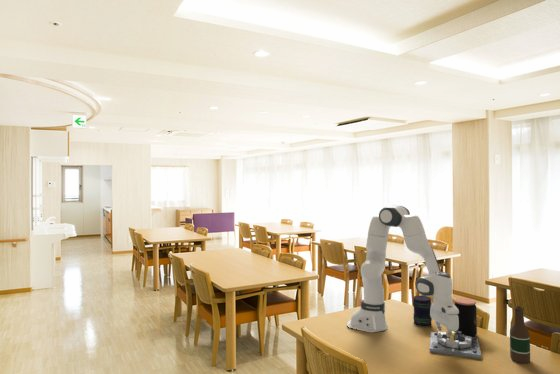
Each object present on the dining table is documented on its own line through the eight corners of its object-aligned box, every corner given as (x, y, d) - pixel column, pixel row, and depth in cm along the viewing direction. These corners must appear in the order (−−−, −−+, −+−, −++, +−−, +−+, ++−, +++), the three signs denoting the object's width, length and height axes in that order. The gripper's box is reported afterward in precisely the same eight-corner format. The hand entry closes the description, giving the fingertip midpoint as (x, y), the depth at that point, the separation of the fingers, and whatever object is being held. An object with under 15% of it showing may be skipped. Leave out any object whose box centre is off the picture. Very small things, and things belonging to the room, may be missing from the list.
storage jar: (432, 327, 216) (431, 301, 216) (413, 326, 220) (413, 299, 220) (431, 321, 226) (430, 296, 226) (413, 320, 229) (412, 295, 229)
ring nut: (469, 351, 179) (469, 337, 179) (435, 345, 187) (434, 332, 187) (472, 338, 194) (472, 325, 194) (440, 333, 202) (440, 320, 202)
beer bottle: (506, 356, 178) (505, 304, 178) (522, 355, 179) (521, 304, 179) (518, 364, 170) (516, 310, 170) (534, 363, 171) (533, 309, 171)
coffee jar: (479, 338, 200) (478, 303, 200) (457, 337, 202) (456, 303, 202) (473, 331, 210) (472, 298, 210) (452, 330, 212) (451, 297, 212)
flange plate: (429, 352, 185) (429, 340, 185) (431, 335, 205) (430, 324, 205) (481, 359, 176) (481, 346, 176) (477, 341, 197) (477, 329, 197)
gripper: (426, 299, 202) (427, 326, 202) (448, 312, 181) (449, 341, 181) (438, 298, 202) (438, 325, 202) (461, 311, 182) (461, 340, 182)
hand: (443, 333), depth 192 cm, fingers open, 7 cm apart
